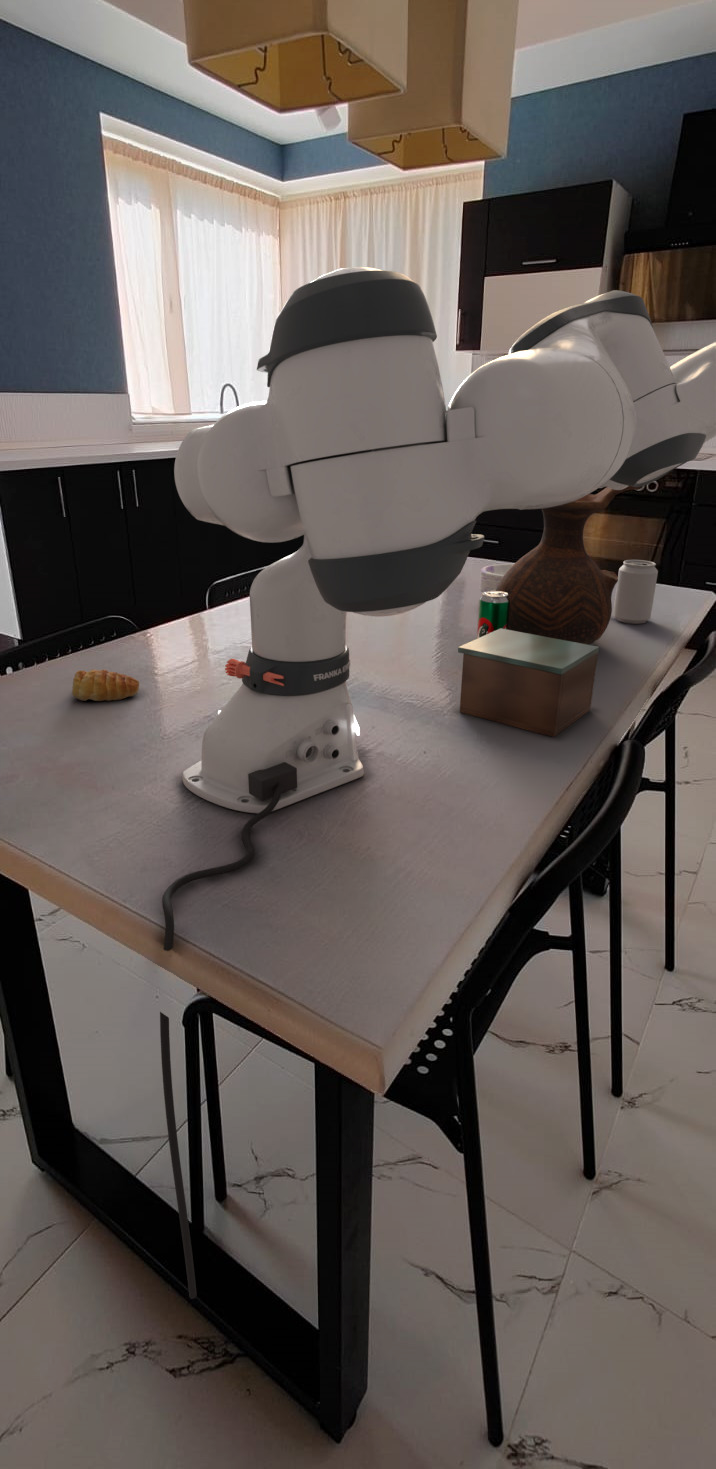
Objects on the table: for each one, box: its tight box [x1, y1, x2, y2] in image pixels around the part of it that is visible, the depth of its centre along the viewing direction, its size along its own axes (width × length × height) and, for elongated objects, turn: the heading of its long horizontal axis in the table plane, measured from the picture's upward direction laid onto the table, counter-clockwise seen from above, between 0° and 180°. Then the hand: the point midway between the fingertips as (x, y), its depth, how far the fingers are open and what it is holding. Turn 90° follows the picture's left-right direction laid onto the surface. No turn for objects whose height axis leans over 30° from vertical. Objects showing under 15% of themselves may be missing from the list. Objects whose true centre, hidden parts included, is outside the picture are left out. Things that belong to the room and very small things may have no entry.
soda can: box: [476, 591, 510, 639], centre depth 130 cm, size 5×5×12 cm
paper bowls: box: [479, 563, 515, 594], centre depth 169 cm, size 15×15×8 cm
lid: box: [457, 628, 600, 675], centre depth 108 cm, size 16×13×1 cm
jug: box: [495, 486, 642, 645], centre depth 137 cm, size 22×22×30 cm
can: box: [612, 559, 659, 625], centre depth 157 cm, size 8×8×12 cm
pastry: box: [71, 669, 140, 702], centre depth 115 cm, size 9×7×4 cm
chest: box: [459, 652, 599, 738], centre depth 110 cm, size 15×13×9 cm
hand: (533, 501), depth 101 cm, fingers closed
